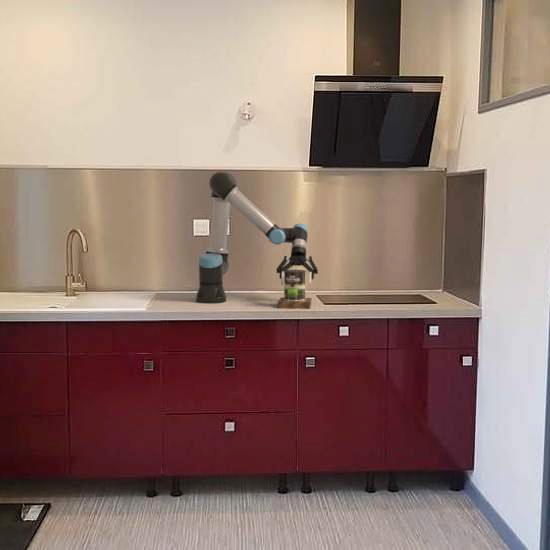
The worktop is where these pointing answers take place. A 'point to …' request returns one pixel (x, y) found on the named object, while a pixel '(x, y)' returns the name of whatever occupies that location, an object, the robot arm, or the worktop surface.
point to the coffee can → (294, 285)
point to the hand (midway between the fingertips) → (296, 283)
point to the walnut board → (294, 303)
